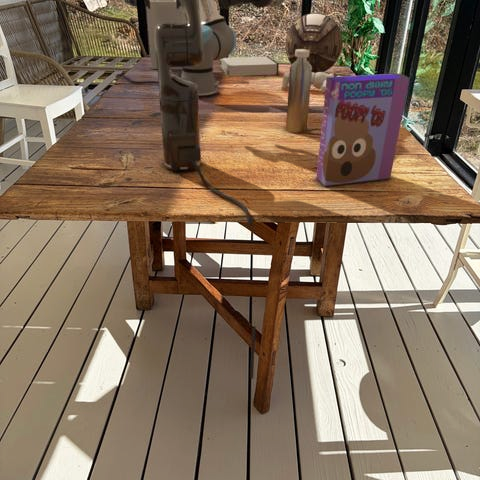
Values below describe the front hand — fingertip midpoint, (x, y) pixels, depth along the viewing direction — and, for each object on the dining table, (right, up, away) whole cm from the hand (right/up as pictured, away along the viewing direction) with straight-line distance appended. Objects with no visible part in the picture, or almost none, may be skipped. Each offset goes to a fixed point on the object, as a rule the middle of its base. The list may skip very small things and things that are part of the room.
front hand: (163, 8), depth 144 cm
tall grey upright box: (-8, +13, +83) cm, 85 cm away
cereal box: (+51, -55, -28) cm, 80 cm away
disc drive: (+27, +7, +75) cm, 80 cm away
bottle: (+41, -36, +4) cm, 54 cm away
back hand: (+23, +3, -2) cm, 23 cm away
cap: (+41, -16, -8) cm, 45 cm away
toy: (+55, -10, +46) cm, 73 cm away
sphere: (+55, +5, +73) cm, 91 cm away
